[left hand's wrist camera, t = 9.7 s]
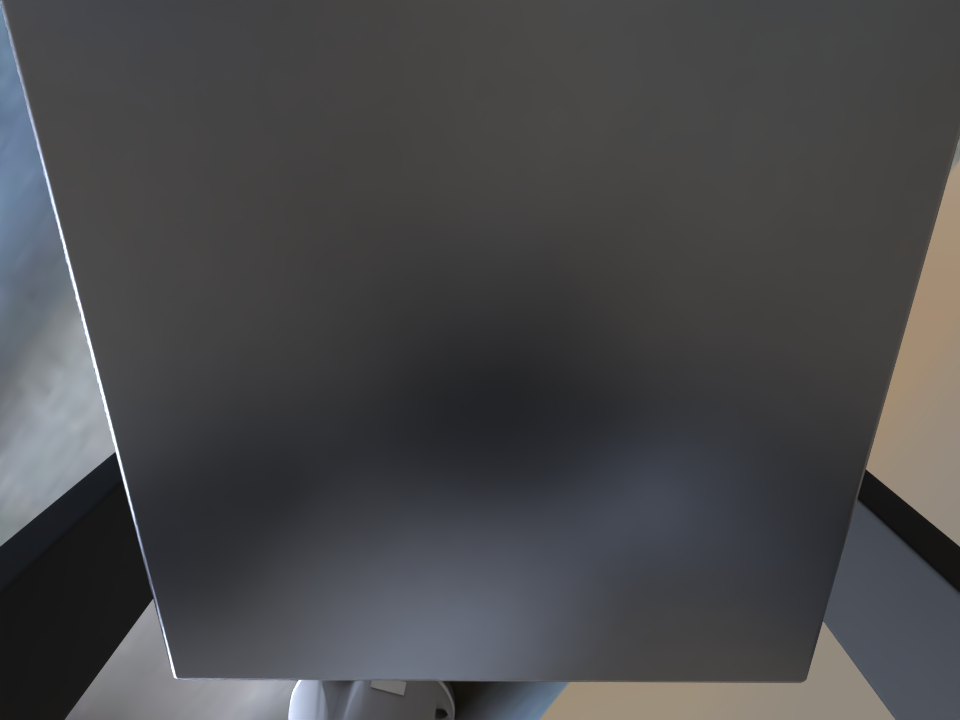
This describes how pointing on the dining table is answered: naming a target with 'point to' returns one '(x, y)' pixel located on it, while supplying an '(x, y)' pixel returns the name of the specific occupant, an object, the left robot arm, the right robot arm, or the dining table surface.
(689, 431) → the long box
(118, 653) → the dining table surface
